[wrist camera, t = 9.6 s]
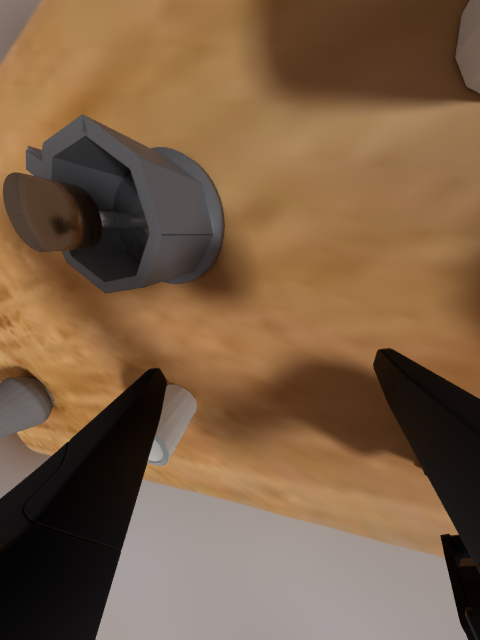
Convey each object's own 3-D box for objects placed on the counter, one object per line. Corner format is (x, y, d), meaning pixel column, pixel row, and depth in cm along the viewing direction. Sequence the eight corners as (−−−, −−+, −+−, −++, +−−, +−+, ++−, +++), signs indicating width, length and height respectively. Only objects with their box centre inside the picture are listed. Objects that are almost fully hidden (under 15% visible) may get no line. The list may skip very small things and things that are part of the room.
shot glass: (186, 377, 27) (147, 419, 21) (208, 417, 28) (178, 468, 22) (151, 383, 30) (108, 422, 24) (173, 420, 31) (138, 465, 25)
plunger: (200, 206, 15) (92, 182, 8) (169, 279, 19) (74, 309, 11) (130, 154, 15) (-34, 86, 8) (112, 235, 19) (-15, 236, 12)
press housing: (247, 200, 16) (200, 178, 10) (193, 302, 22) (140, 331, 15) (126, 110, 17) (5, 33, 10) (102, 231, 22) (14, 231, 16)
